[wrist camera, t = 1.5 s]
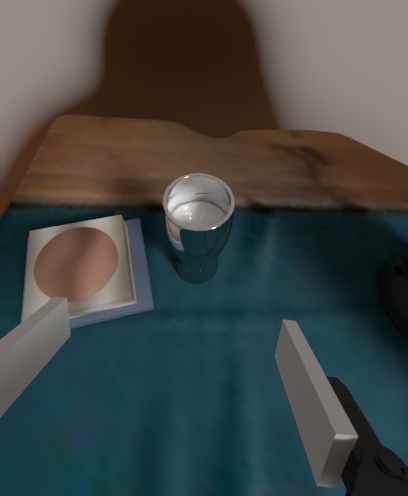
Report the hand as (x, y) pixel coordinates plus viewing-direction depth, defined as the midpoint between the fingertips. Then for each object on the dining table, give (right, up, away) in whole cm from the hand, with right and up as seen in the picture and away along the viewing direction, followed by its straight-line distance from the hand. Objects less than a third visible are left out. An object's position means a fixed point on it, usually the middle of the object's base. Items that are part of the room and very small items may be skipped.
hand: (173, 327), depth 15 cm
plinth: (-14, +2, +18) cm, 23 cm away
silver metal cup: (+1, +2, +21) cm, 21 cm away
